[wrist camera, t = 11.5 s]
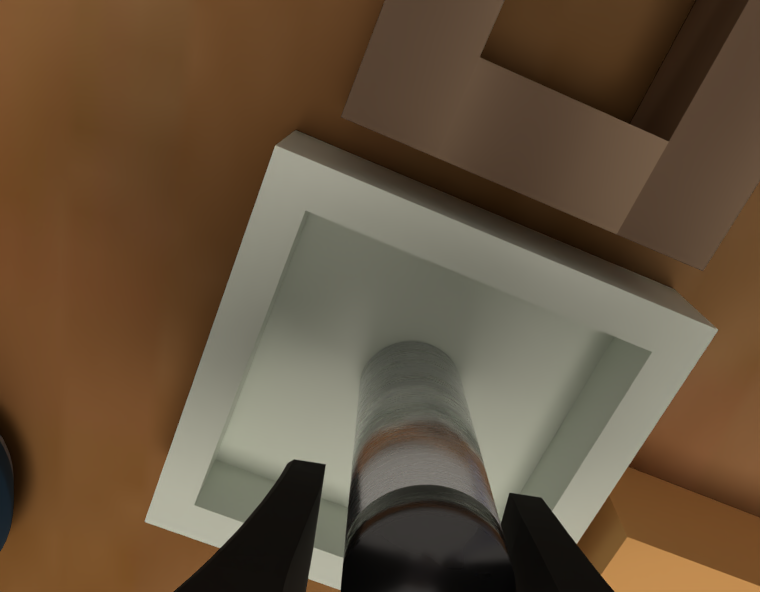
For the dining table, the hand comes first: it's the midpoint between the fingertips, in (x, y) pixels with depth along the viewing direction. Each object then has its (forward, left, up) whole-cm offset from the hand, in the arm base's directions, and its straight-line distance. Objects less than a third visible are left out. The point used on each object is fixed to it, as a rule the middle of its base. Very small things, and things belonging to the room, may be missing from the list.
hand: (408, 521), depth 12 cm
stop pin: (0, 0, -5) cm, 5 cm away
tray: (0, 0, -6) cm, 6 cm away
